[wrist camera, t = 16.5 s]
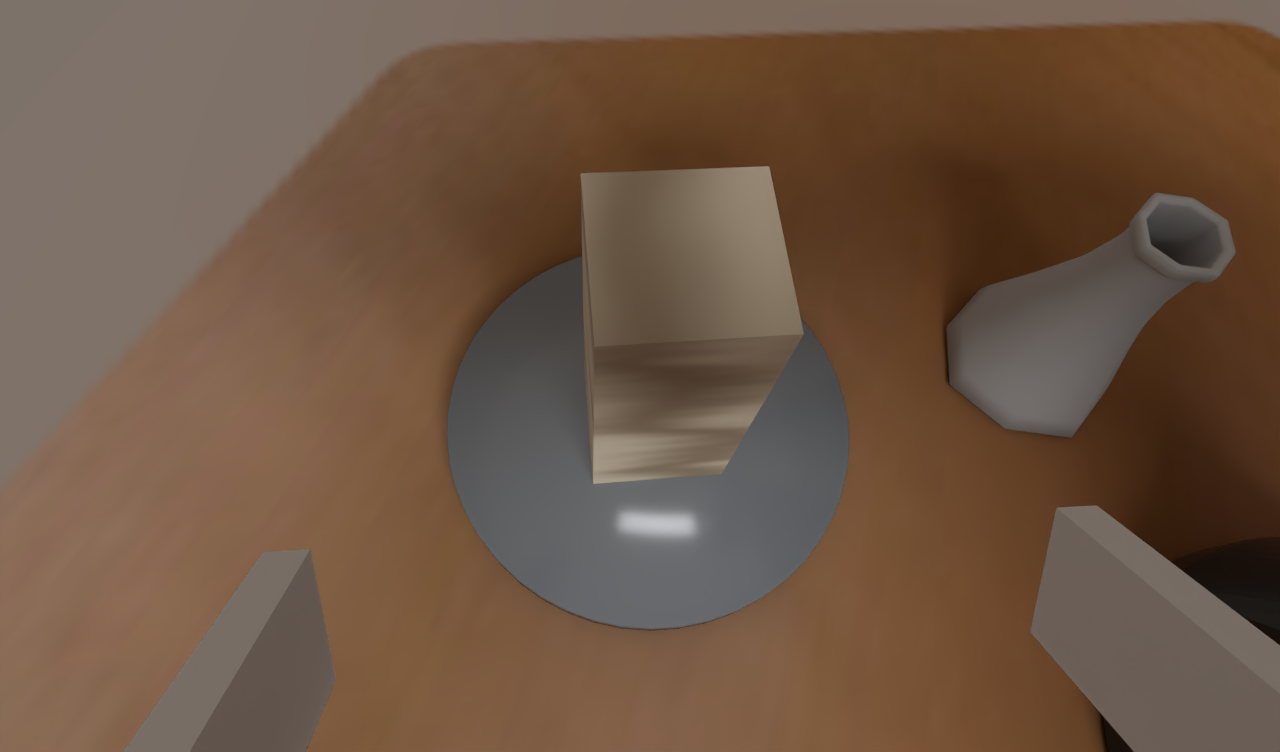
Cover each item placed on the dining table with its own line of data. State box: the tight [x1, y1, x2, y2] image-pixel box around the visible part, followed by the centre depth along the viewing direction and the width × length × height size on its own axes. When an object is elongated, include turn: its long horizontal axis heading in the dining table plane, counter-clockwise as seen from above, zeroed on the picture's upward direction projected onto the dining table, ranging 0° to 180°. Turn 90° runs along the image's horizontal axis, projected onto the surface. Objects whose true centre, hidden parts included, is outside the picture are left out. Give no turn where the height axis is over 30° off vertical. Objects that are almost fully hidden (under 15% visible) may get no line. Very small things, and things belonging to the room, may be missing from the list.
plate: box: [447, 256, 849, 631], centre depth 30 cm, size 16×16×1 cm
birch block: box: [581, 166, 804, 484], centre depth 24 cm, size 5×5×12 cm
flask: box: [946, 193, 1236, 438], centre depth 28 cm, size 7×7×10 cm
